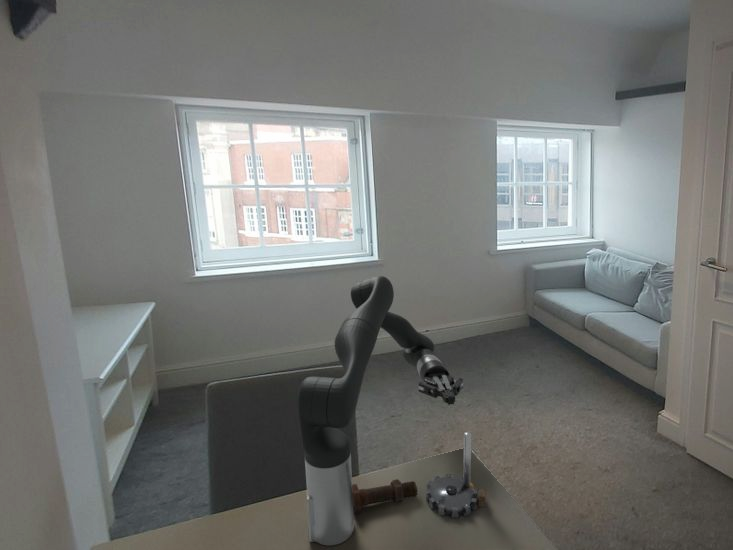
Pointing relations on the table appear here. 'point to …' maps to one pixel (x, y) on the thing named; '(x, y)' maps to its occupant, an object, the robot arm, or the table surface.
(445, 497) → the sprocket
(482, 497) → the brown block
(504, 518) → the table surface
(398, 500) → the bolt
